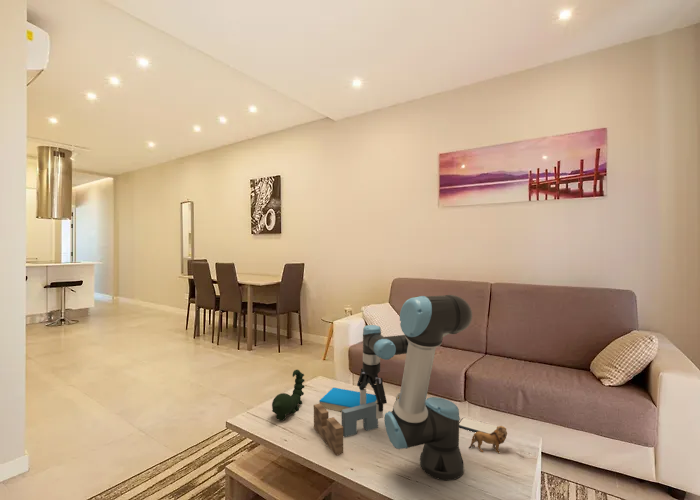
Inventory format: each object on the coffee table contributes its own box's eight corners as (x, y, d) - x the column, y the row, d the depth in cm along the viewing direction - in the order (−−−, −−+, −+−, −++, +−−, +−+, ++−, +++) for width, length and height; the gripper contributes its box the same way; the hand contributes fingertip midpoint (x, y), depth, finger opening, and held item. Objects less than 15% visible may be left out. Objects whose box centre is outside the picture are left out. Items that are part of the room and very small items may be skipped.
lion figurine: (503, 445, 139) (503, 423, 139) (509, 453, 134) (510, 430, 134) (466, 446, 139) (466, 423, 139) (471, 454, 134) (471, 430, 133)
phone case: (456, 428, 153) (496, 440, 144) (456, 424, 153) (496, 436, 144) (463, 420, 160) (500, 430, 151) (463, 416, 160) (500, 426, 151)
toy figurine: (291, 404, 177) (263, 424, 153) (293, 365, 178) (265, 379, 154) (308, 407, 174) (282, 428, 150) (310, 368, 175) (284, 382, 151)
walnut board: (343, 453, 134) (343, 427, 133) (336, 455, 132) (336, 429, 132) (320, 426, 153) (320, 403, 153) (313, 427, 152) (313, 404, 151)
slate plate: (374, 424, 155) (374, 401, 155) (378, 427, 152) (378, 404, 152) (341, 433, 147) (341, 409, 147) (344, 437, 145) (344, 413, 144)
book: (368, 410, 161) (318, 400, 170) (368, 419, 161) (318, 409, 170) (379, 394, 177) (333, 386, 186) (379, 403, 177) (333, 394, 186)
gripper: (395, 370, 142) (394, 422, 143) (364, 352, 164) (363, 397, 165) (379, 373, 139) (379, 426, 140) (350, 354, 161) (349, 400, 162)
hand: (370, 410), depth 152 cm, fingers open, 13 cm apart
